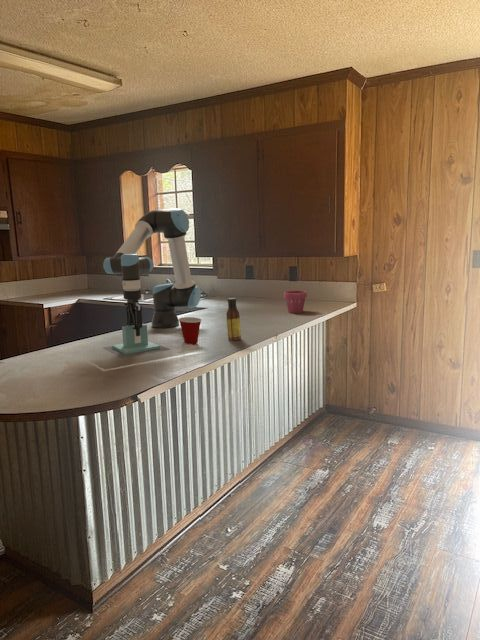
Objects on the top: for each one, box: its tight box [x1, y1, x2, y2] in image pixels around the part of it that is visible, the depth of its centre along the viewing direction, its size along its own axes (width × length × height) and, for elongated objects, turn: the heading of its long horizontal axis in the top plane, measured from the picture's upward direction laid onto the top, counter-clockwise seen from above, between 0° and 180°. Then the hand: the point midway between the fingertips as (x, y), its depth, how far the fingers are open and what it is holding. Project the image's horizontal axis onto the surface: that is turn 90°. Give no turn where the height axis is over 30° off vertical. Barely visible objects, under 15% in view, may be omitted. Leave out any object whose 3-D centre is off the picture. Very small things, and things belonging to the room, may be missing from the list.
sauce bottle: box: [226, 297, 242, 341], centre depth 232 cm, size 7×6×20 cm
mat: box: [103, 340, 171, 359], centre depth 218 cm, size 24×22×1 cm
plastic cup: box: [178, 316, 203, 346], centre depth 226 cm, size 11×11×12 cm
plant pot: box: [283, 290, 307, 314], centre depth 306 cm, size 14×14×13 cm
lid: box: [111, 323, 160, 355], centre depth 217 cm, size 16×16×10 cm
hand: (135, 341), depth 218 cm, fingers closed on lid, 4 cm apart
